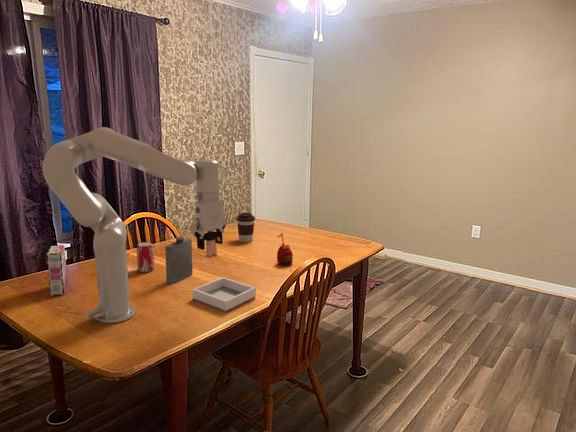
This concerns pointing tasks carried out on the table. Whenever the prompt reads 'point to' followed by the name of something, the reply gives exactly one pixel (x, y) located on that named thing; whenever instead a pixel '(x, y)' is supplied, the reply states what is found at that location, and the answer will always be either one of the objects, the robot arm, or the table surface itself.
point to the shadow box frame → (224, 294)
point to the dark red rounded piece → (284, 254)
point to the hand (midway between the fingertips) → (210, 245)
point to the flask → (178, 260)
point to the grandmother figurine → (211, 243)
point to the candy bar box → (57, 270)
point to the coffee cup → (245, 227)
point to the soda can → (145, 257)
